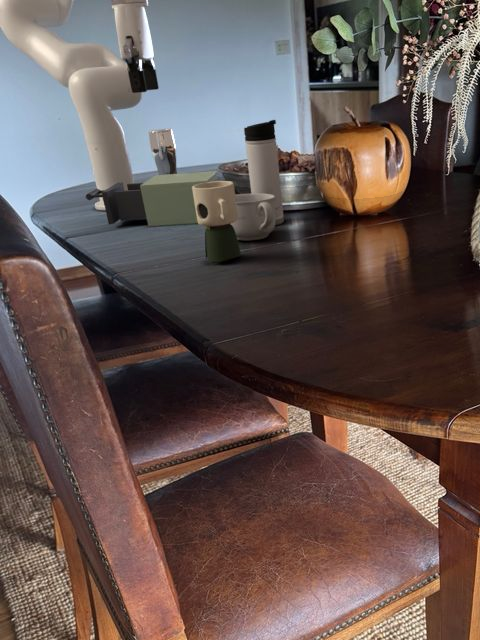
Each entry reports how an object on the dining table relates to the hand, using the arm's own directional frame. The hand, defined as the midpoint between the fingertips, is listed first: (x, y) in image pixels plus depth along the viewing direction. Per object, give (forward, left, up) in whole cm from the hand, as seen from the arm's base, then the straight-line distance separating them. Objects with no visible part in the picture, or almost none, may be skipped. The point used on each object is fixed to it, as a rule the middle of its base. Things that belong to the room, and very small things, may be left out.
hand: (145, 91), depth 144 cm
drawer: (+1, -10, -25) cm, 27 cm away
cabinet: (+10, -2, -26) cm, 28 cm away
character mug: (+46, -21, -26) cm, 57 cm away
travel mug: (+33, +3, -26) cm, 42 cm away
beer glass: (-31, +23, -26) cm, 47 cm away
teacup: (+40, -8, -26) cm, 49 cm away
